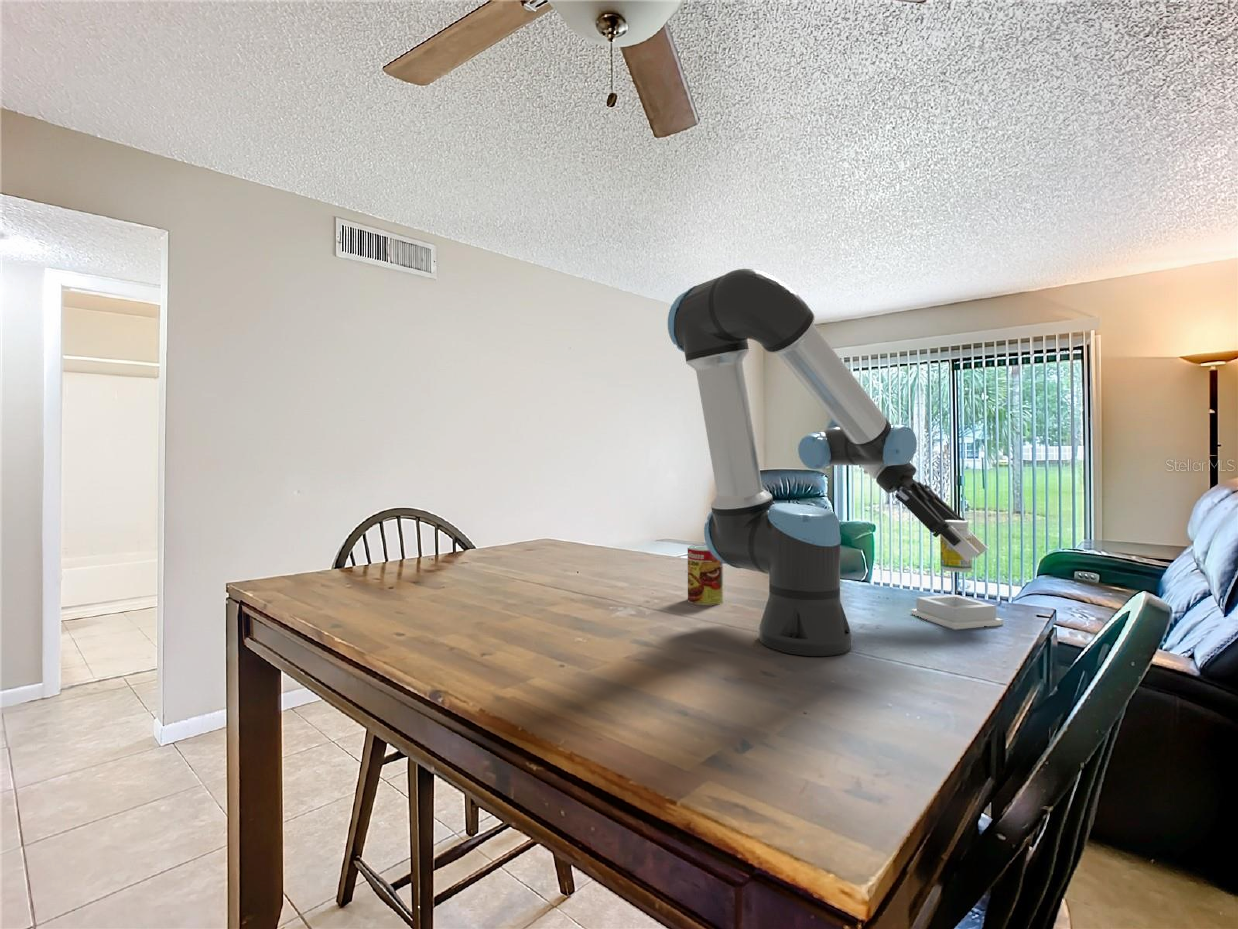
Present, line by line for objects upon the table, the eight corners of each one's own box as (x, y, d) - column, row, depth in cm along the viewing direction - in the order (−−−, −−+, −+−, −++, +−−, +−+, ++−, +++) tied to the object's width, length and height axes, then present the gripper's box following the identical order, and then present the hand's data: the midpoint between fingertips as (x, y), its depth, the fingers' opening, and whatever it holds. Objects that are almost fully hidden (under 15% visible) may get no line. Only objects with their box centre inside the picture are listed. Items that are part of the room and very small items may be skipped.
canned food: (682, 598, 133) (682, 545, 133) (714, 595, 134) (714, 544, 134) (695, 606, 125) (695, 550, 125) (729, 604, 127) (729, 549, 127)
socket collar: (954, 629, 107) (954, 610, 107) (910, 614, 117) (910, 596, 117) (1002, 625, 109) (1002, 606, 109) (956, 610, 120) (955, 593, 120)
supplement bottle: (969, 574, 110) (969, 523, 110) (937, 570, 113) (937, 521, 113) (974, 569, 114) (974, 520, 114) (943, 566, 117) (943, 518, 117)
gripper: (893, 479, 131) (976, 560, 119) (857, 482, 118) (946, 574, 106) (918, 455, 127) (1006, 537, 115) (884, 456, 114) (979, 548, 103)
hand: (977, 554), depth 111 cm, fingers closed on supplement bottle, 5 cm apart
